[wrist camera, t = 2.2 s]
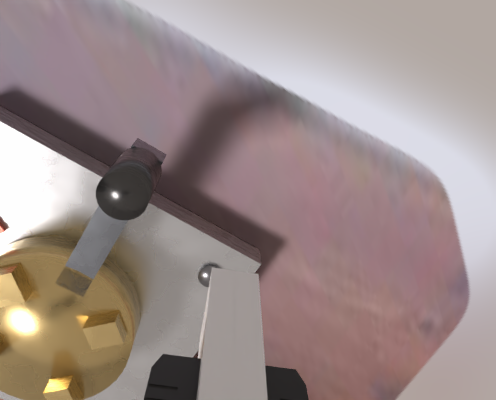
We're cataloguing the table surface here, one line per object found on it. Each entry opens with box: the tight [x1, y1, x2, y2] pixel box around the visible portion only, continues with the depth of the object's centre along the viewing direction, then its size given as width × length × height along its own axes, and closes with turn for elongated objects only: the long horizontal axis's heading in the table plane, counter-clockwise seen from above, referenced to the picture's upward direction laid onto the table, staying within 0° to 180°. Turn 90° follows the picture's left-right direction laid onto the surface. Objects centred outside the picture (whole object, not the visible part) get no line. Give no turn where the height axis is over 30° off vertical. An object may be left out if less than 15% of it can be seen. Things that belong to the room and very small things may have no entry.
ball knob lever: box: [0, 138, 166, 400], centre depth 27 cm, size 20×11×7 cm, turn 148°
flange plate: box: [0, 106, 261, 400], centre depth 33 cm, size 20×20×2 cm
